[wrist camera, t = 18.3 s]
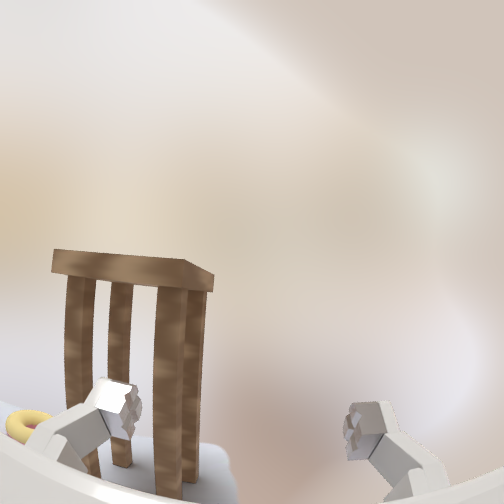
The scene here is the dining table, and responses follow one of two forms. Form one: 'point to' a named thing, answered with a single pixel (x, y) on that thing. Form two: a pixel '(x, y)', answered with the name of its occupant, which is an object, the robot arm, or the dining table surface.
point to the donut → (24, 424)
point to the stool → (165, 351)
